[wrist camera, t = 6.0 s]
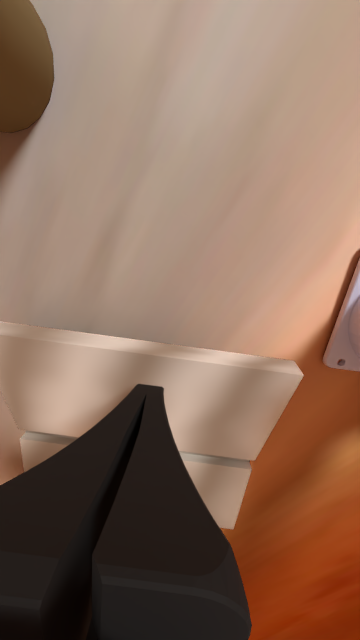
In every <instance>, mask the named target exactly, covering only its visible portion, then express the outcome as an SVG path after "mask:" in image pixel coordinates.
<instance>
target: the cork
mask: <svg viewBox="0 0 360 640" xmlns="http://www.w3.org/2000/svg"><path fill="white" fill-rule="evenodd" d="M53 81H54V69H53V53H52V49H51V46H50V42H49V39H48V35H47V31H46V28H45V26H44V25H43V23H42V21H41V19H40V17H39V15H38V14H37V12H36V10H35V8H34V6H33V5H32V3H31V2H30V0H0V131H1V132H9V133H12V132H15V131H19V130H22V129H26V128H28V127H29V126H30V125H31V124H33V123H34V122H35V121H36V120H37V119H39V118H40V116H41V115H42V113H43V111H44V109H45V107H46V106H47V104H48V102H49V100H50V95H51V91H52V86H53Z"/></svg>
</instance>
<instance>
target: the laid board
mask: <svg viewBox="0 0 360 640" xmlns="http://www.w3.org/2000/svg"><path fill="white" fill-rule="evenodd" d="M78 438H79V437H73V436H65V435H58V434H50V433H43V432H35V431H28V430H26V433H25V434H24V435H23V436H22V437H21V438H20V445H21V453H22V461H23V469H24V472H26V471H28V470H29V469H31V468H33V467H34V466H36V465H38V464H40V463H41V462H43V461H45V460H46V459H48V458H50V457H51V456H53V455H54V454H56V453H57V452H59V451H60V450H62V449H63V448H65V447H66V446H68V445H69V444H70V443H72V442H73V441H75V440H76V439H78ZM179 453H180V456H181V458H182V460H183V462H184V465H185V467H186V469H187V471H188V473H189V475H190V477H191V479H192V481H193V483H194V485H195V487H196V489H197V491H198V493H199V494H200V496H201V498H202V500H203V501H204V503H205V505H206V507H207V508H208V510H209V512H210V513H211V515H212V517H213V518H214V520H215V521H216V523H217V525H218V526H219V528H226V529H234V526H235V523H236V519H237V516H238V513H239V510H240V506H241V503H242V500H243V497H244V494H245V490H246V487H247V484H248V481H249V477H250V474H251V471H252V468H251V465H250V460H246V459H238V458H231V457H223V456H216V455H208V454H201V453H193V452H185V451H179Z"/></svg>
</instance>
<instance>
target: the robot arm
mask: <svg viewBox="0 0 360 640" xmlns="http://www.w3.org/2000/svg"><path fill="white" fill-rule="evenodd" d="M340 359H341V361H340V362H339V363H337V362H338V360H340ZM323 363H324V364H325V365H326V366H328V367H330V368H336V369H344V370H351V371H359V372H360V258H359V261H358V264H357V267H356V269H355V272H354V275H353V278H352V280H351V283H350V286H349V288H348V291H347V294H346V297H345V299H344V302H343V305H342V308H341V310H340V313H339V316H338V318H337V321H336V324H335V327H334V329H333V332H332V335H331V338H330V340H329V343H328V346H327V348H326V351H325V354H324V357H323ZM251 626H252V624H251V619H250V613H249V607H248V603H247V599H246V595H245V591H244V587H243V583H242V579H241V576H240V572H239V569H238V566H237V563H236V560H235V556H234V553H233V550H232V548H231V545H230V543H229V542H228V540H227V539H226V537H225V536H224V534H223V532H222V531H221V529H220V528H219V526H218V525H217V523H216V521H215V520H214V518H213V517H212V515H211V513H210V512H209V510H208V508H207V507H206V505H205V503H204V501H203V500H202V498H201V496H200V494H199V493H198V491H197V489H196V487H195V485H194V483H193V481H192V479H191V477H190V475H189V473H188V471H187V469H186V467H185V465H184V462H183V460H182V458H181V456H180V453H179V451H178V448H177V446H176V443H175V440H174V438H173V435H172V431H171V428H170V425H169V421H168V417H167V413H166V409H165V403H164V388H163V387H161V386H153V385H146V384H137V385H136V386H135V387H134V388H133V389H132V390H131V392H130V393H129V394H128V395H127V396H126V397H125V398H124V399H123V400H122V401H121V402H120V403H119V404H118V405H117V406H116V407H115V408H114V409H113V410H112V411H111V412H110V413H108V414H107V415H106V416H105V417H104V418H103V419H102V420H100V421H99V422H98V423H97V424H96V425H94V426H93V427H92V428H91V429H89V430H88V431H87V432H86V433H84V434H83V435H82V436H80V437H79V438H78V439H76V440H75V441H73V442H72V443H70V444H69V445H68V446H66V447H65V448H63V449H62V450H60V451H59V452H57V453H56V454H54V455H53V456H51V457H50V458H48V459H46V460H45V461H43V462H41V463H40V464H38V465H36V466H34V467H33V468H31V469H29V470H28V471H26V472H24V473H22V474H21V475H19V476H17V477H15V478H13V479H12V480H10V481H8V482H6V483H4V484H2V485H0V640H248V638H249V636H250V632H251Z"/></svg>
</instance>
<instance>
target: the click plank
mask: <svg viewBox="0 0 360 640" xmlns="http://www.w3.org/2000/svg"><path fill="white" fill-rule="evenodd" d="M303 376H304V375H303V373H302V372H301V370H300V369H299V367H298V366H297V364H296V363H295V361H293V360H285V359H278V358H270V357H263V356H255V355H248V354H240V353H233V352H225V351H218V350H210V349H203V348H195V347H188V346H181V345H173V344H166V343H158V342H151V341H143V340H136V339H128V338H121V337H113V336H106V335H98V334H91V333H83V332H76V331H68V330H61V329H53V328H46V327H38V326H31V325H23V324H16V323H8V322H1V321H0V391H1V393H2V396H3V398H4V400H5V402H6V404H7V406H8V408H9V410H10V413H11V415H12V417H13V419H14V421H15V423H16V425H17V427H18V429H20V430H28V431H35V432H43V433H50V434H58V435H65V436H73V437H80V436H82V435H83V434H84V433H86V432H87V431H88V430H89V429H91V428H92V427H93V426H94V425H96V424H97V423H98V422H99V421H100V420H102V419H103V418H104V417H105V416H106V415H107V414H108V413H110V412H111V411H112V410H113V409H114V408H115V407H116V406H117V405H118V404H119V403H120V402H121V401H122V400H123V399H124V398H125V397H126V396H127V395H128V394H129V393H130V392H131V390H132V389H133V388H134V387H135V386H136V385H137V384H146V385H153V386H161V387H163V388H164V403H165V409H166V413H167V417H168V421H169V425H170V428H171V431H172V435H173V438H174V440H175V443H176V446H177V448H178V451H185V452H193V453H201V454H208V455H216V456H223V457H231V458H238V459H246V460H253V461H255V459H256V458H257V456H258V454H259V453H260V451H261V449H262V447H263V446H264V444H265V442H266V440H267V439H268V437H269V435H270V433H271V432H272V430H273V428H274V426H275V425H276V423H277V421H278V420H279V418H280V416H281V414H282V413H283V411H284V409H285V407H286V406H287V404H288V402H289V400H290V399H291V397H292V395H293V394H294V392H295V390H296V388H297V387H298V385H299V383H300V381H301V380H302V378H303Z"/></svg>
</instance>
